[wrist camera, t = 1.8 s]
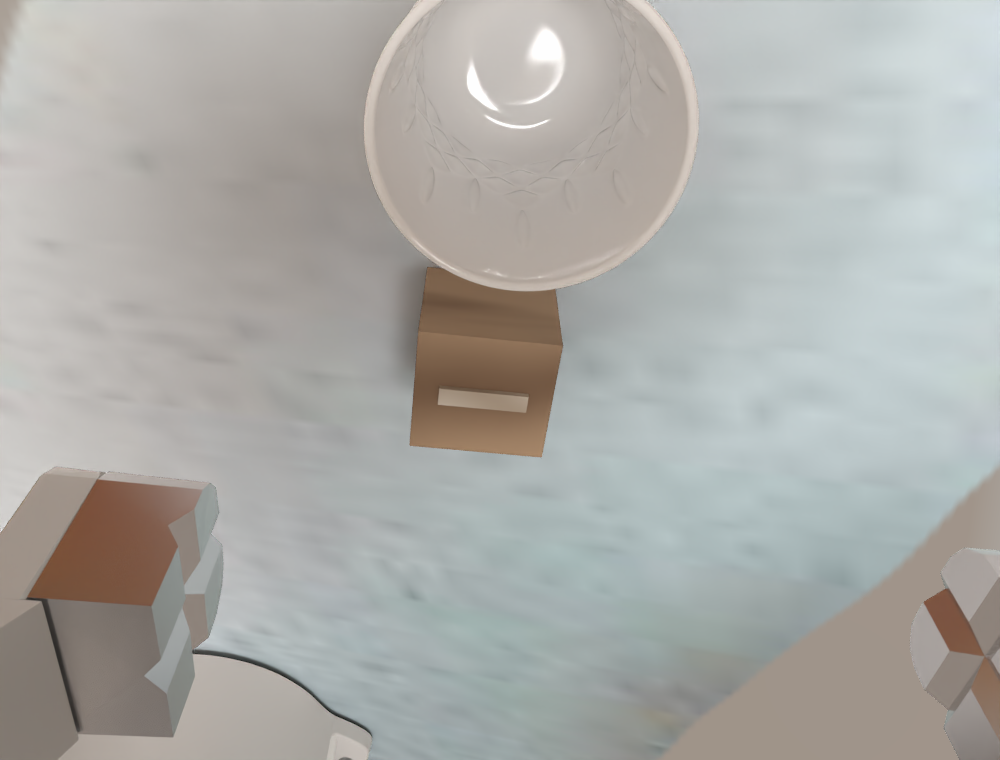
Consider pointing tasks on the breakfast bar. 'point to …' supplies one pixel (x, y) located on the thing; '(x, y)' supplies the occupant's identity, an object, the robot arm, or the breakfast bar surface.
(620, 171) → the white cup
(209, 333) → the breakfast bar surface
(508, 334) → the walnut block
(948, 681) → the robot arm
